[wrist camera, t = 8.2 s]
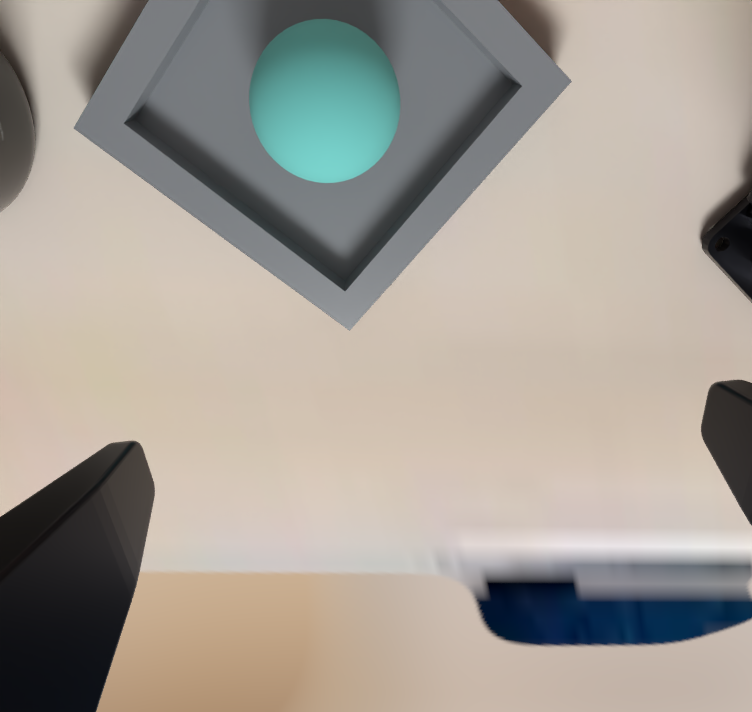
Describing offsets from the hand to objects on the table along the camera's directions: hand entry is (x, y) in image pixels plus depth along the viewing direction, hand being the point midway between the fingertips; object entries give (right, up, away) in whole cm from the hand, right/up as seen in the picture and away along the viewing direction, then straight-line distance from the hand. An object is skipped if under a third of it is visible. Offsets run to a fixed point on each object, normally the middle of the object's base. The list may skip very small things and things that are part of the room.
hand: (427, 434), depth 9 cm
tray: (-2, +9, +9) cm, 13 cm away
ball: (-2, +8, +6) cm, 10 cm away
